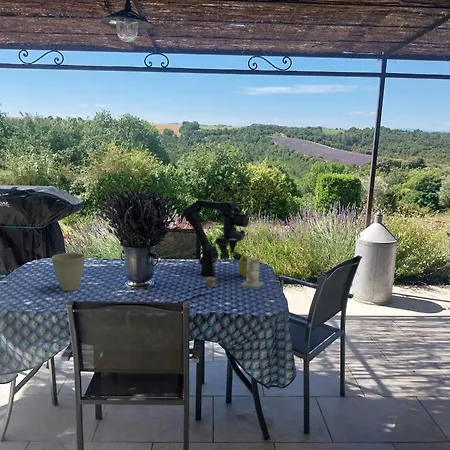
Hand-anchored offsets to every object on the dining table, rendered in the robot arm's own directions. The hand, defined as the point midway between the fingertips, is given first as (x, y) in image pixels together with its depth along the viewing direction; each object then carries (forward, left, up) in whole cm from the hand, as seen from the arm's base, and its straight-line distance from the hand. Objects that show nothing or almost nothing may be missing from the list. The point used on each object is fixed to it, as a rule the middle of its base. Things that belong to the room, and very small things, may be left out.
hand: (228, 254), depth 239 cm
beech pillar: (+17, -6, -12) cm, 21 cm away
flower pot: (+7, +10, -13) cm, 18 cm away
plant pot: (-56, -57, -13) cm, 81 cm away
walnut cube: (-1, -17, -13) cm, 21 cm away
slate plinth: (+17, -6, -13) cm, 22 cm away
